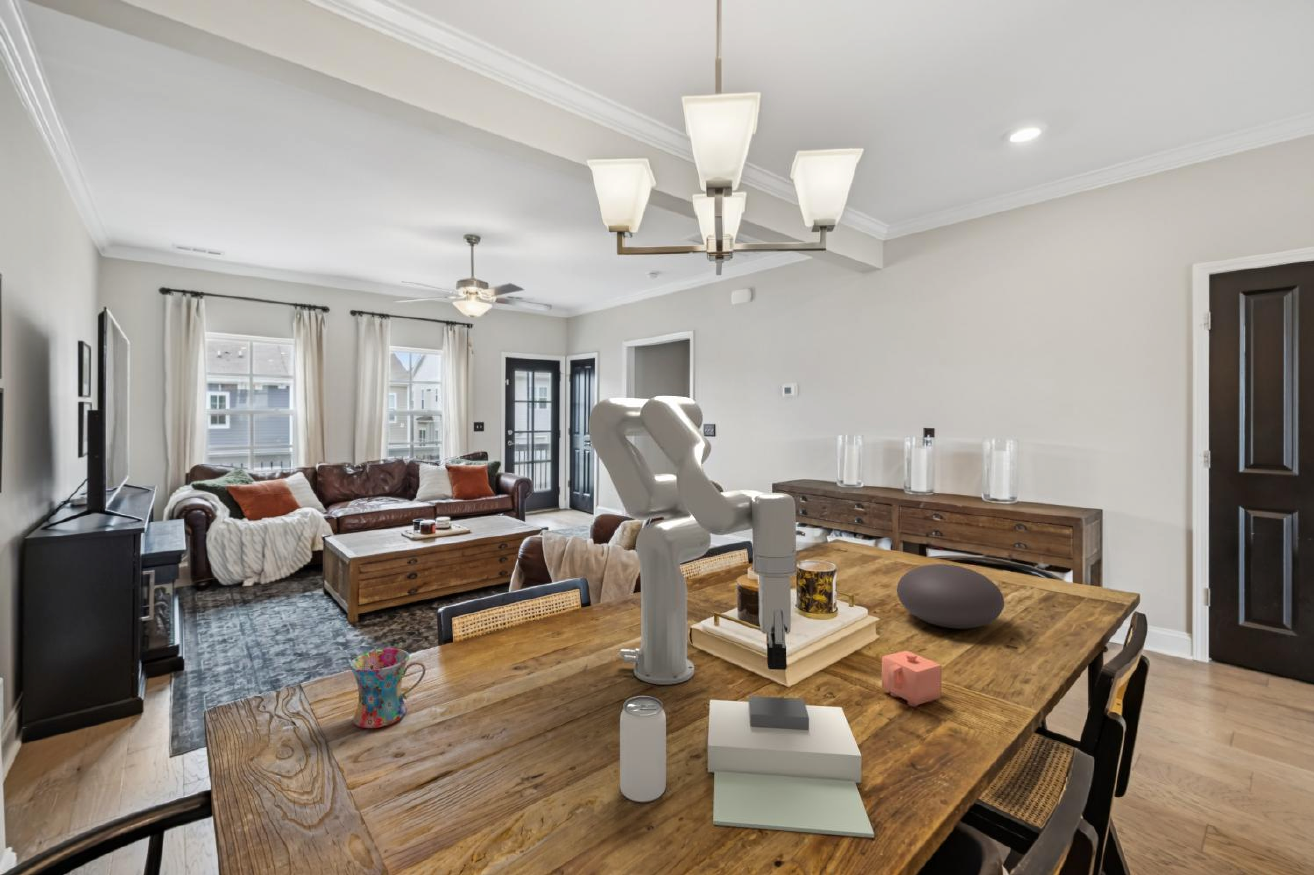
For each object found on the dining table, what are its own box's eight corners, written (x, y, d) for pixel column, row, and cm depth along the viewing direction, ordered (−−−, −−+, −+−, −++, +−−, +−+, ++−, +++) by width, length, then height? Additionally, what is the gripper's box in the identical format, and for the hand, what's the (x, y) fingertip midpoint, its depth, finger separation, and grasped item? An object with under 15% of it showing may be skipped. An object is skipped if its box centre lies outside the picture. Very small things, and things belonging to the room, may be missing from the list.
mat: (713, 824, 73) (713, 820, 73) (714, 774, 84) (714, 771, 84) (874, 837, 71) (874, 833, 71) (854, 784, 81) (854, 781, 81)
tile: (750, 726, 89) (750, 714, 89) (748, 707, 95) (748, 695, 95) (808, 730, 88) (808, 717, 88) (803, 710, 94) (803, 699, 94)
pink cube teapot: (952, 699, 107) (953, 655, 107) (908, 713, 101) (908, 667, 101) (917, 682, 114) (917, 641, 114) (873, 694, 108) (874, 652, 108)
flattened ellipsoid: (1004, 618, 151) (1005, 562, 150) (1002, 650, 130) (1003, 585, 129) (904, 602, 164) (905, 551, 164) (888, 629, 143) (888, 570, 142)
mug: (345, 737, 93) (344, 673, 93) (356, 710, 102) (355, 652, 102) (424, 725, 97) (423, 664, 97) (427, 700, 106) (427, 644, 106)
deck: (707, 771, 84) (707, 745, 84) (710, 722, 98) (710, 699, 98) (861, 783, 82) (861, 755, 82) (841, 730, 96) (841, 707, 95)
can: (619, 776, 83) (619, 695, 83) (663, 773, 84) (663, 693, 84) (620, 805, 77) (620, 718, 77) (668, 802, 77) (668, 716, 77)
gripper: (751, 554, 108) (753, 651, 108) (755, 574, 93) (757, 685, 93) (791, 554, 107) (793, 652, 107) (802, 574, 92) (804, 687, 92)
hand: (776, 667), depth 100 cm, fingers closed
